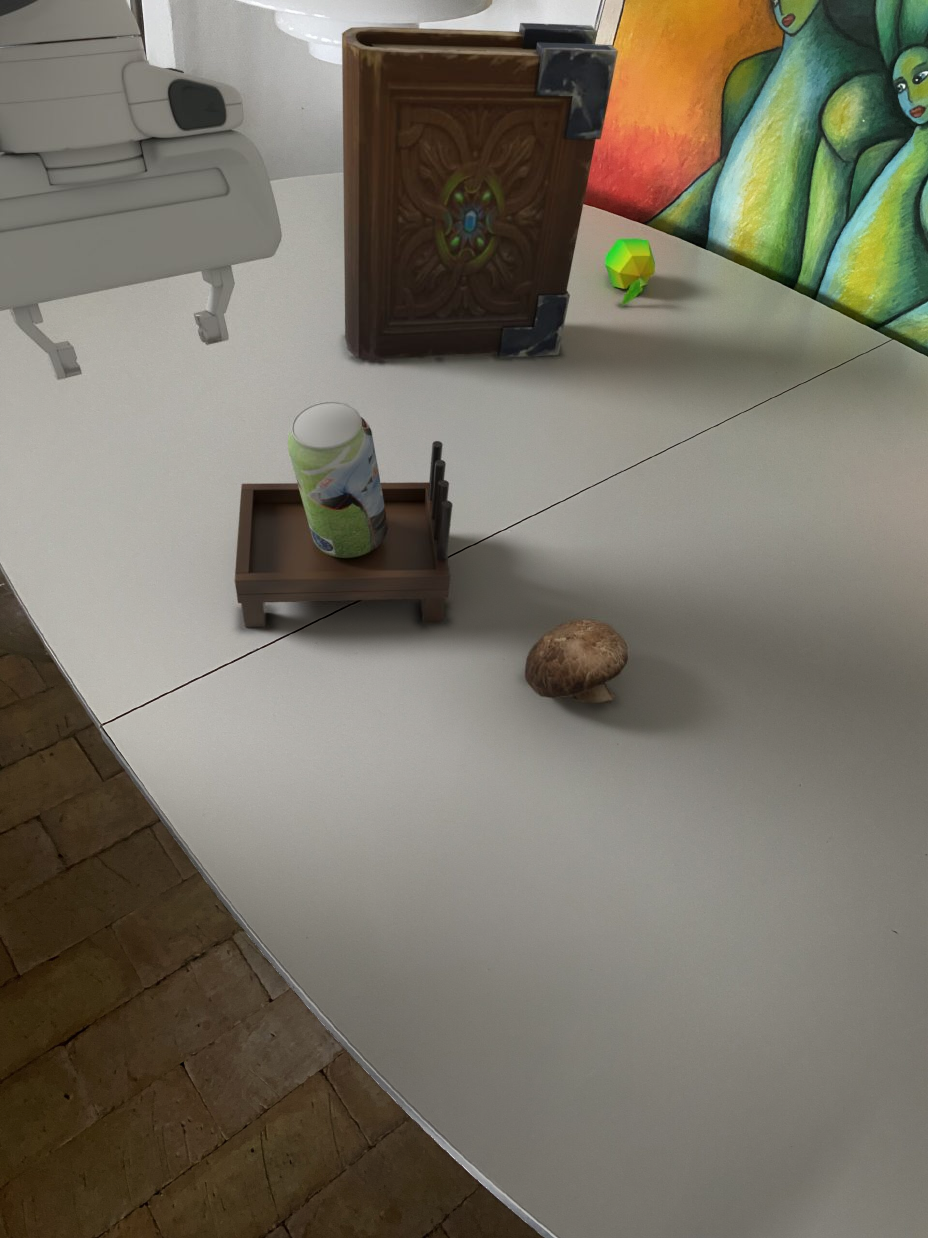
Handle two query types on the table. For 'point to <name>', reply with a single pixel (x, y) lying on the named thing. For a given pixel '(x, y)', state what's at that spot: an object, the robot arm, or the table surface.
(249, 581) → the tray
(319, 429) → the beverage can
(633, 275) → the apple
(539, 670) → the mushroom
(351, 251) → the decorative book
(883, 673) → the table surface
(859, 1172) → the table surface
